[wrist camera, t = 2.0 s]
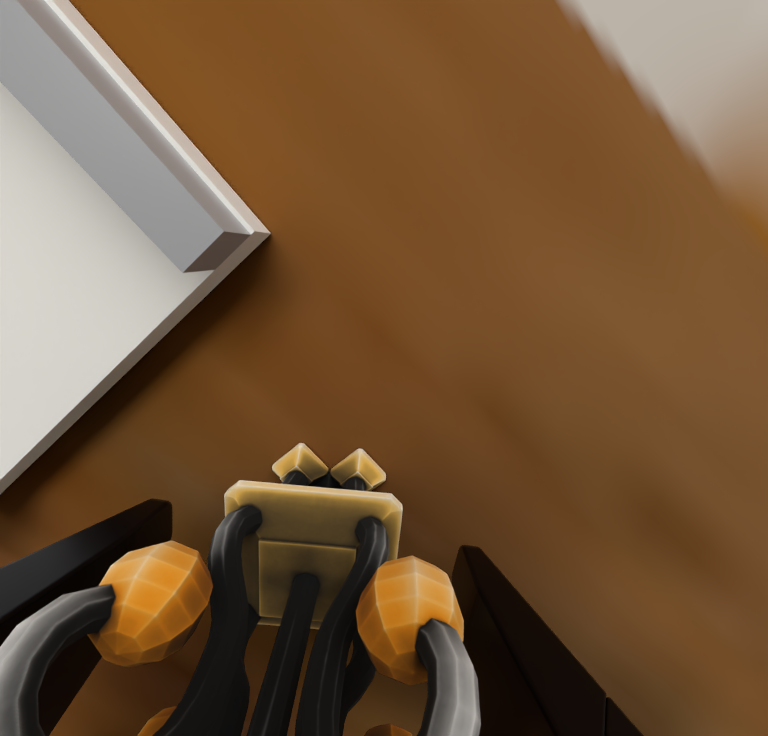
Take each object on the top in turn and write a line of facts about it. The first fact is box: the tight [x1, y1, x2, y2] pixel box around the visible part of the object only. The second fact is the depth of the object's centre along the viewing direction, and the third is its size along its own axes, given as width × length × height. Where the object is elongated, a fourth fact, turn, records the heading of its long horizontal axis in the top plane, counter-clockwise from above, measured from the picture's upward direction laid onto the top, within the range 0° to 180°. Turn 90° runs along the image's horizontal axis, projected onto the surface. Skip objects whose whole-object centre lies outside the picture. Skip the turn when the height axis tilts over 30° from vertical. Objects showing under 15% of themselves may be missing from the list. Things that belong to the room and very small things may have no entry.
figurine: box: [0, 443, 481, 736], centre depth 6 cm, size 5×5×8 cm
